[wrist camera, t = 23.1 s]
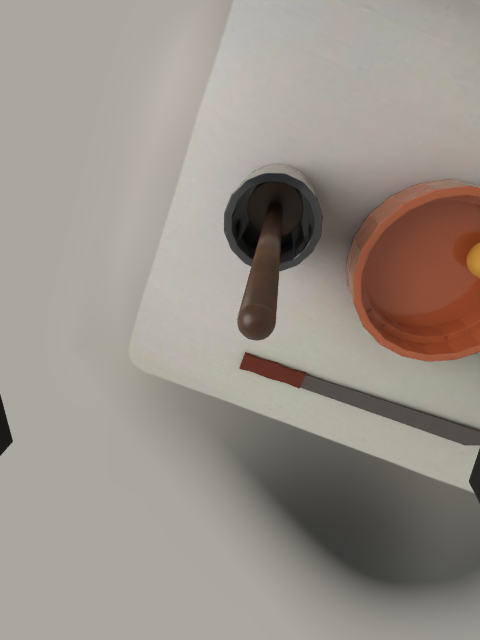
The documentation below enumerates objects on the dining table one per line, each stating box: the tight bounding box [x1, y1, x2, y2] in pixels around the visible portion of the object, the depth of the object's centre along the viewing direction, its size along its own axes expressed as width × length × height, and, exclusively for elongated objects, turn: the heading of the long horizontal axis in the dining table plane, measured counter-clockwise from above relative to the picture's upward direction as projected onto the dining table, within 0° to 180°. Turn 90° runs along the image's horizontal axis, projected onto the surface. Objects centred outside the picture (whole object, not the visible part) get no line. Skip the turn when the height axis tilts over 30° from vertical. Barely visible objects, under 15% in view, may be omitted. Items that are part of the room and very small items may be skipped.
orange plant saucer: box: [346, 180, 480, 361], centre depth 43 cm, size 18×18×6 cm
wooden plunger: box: [237, 182, 303, 340], centre depth 30 cm, size 6×6×30 cm
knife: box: [240, 352, 480, 445], centre depth 54 cm, size 3×35×1 cm, turn 72°
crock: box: [224, 164, 323, 271], centre depth 41 cm, size 8×8×10 cm
